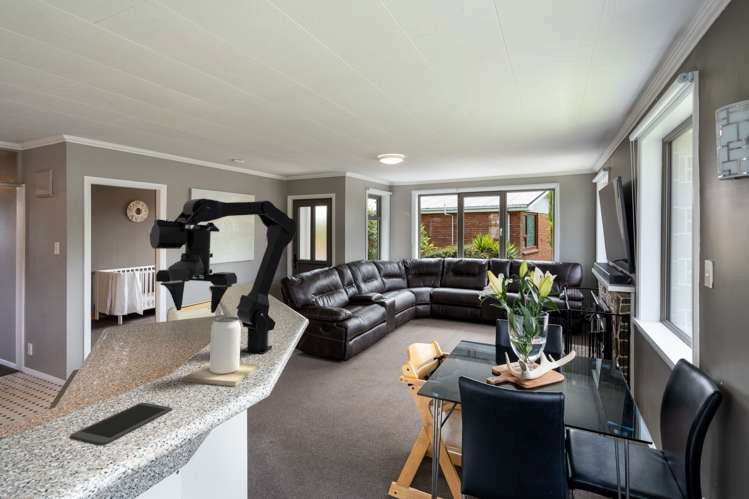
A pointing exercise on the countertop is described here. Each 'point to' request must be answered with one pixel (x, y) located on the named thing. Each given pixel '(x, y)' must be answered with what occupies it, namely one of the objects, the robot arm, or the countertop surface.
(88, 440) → the cell phone
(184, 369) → the countertop surface
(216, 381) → the coaster
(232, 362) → the can
